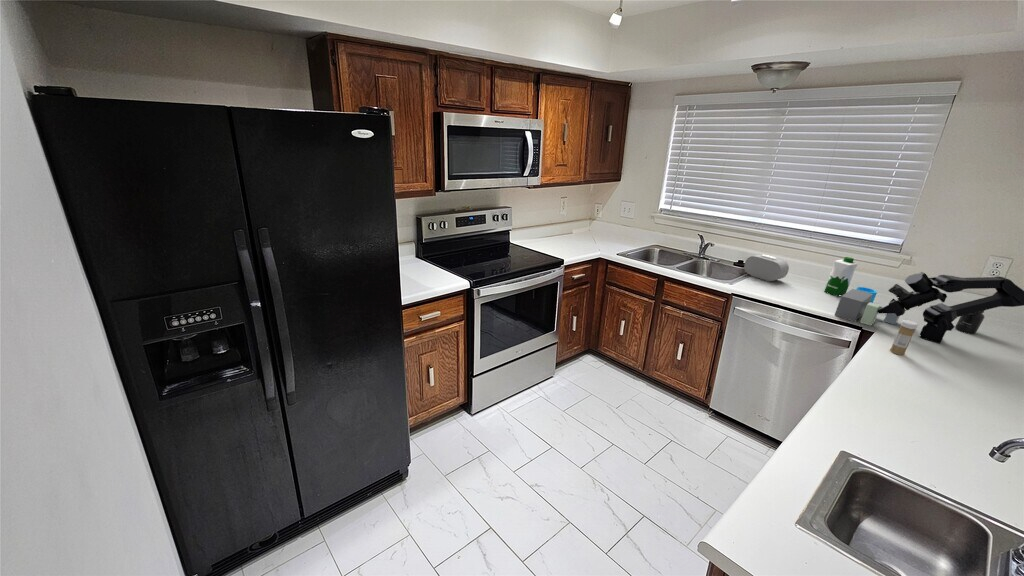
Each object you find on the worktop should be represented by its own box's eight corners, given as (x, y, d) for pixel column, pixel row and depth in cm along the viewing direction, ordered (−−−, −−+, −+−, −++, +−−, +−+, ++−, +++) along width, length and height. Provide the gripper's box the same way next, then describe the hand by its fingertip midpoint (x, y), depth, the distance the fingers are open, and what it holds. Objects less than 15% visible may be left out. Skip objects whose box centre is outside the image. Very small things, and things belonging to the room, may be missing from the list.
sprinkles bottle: (906, 353, 163) (919, 323, 158) (902, 356, 161) (916, 325, 156) (891, 348, 167) (904, 318, 162) (887, 351, 164) (900, 321, 159)
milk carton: (847, 295, 223) (861, 260, 216) (838, 297, 220) (851, 261, 212) (830, 289, 231) (842, 255, 223) (821, 291, 227) (833, 256, 220)
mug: (871, 309, 206) (877, 294, 203) (851, 304, 210) (857, 290, 208) (870, 302, 215) (875, 287, 212) (850, 298, 220) (856, 283, 217)
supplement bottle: (958, 331, 185) (970, 307, 181) (951, 326, 191) (963, 302, 187) (979, 335, 182) (991, 311, 178) (971, 330, 188) (984, 306, 184)
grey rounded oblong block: (785, 282, 239) (792, 260, 234) (776, 284, 234) (783, 262, 230) (750, 271, 255) (756, 250, 251) (742, 273, 251) (747, 252, 246)
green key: (873, 323, 189) (881, 305, 186) (870, 325, 186) (878, 307, 183) (837, 312, 199) (843, 295, 196) (834, 314, 196) (840, 297, 193)
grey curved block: (865, 312, 201) (873, 293, 197) (854, 321, 190) (862, 301, 187) (845, 307, 207) (852, 288, 203) (834, 315, 196) (841, 296, 192)
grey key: (897, 321, 192) (904, 304, 189) (894, 324, 189) (902, 306, 186) (855, 309, 203) (861, 293, 200) (852, 312, 201) (858, 295, 197)
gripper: (912, 276, 181) (871, 292, 193) (904, 285, 170) (861, 300, 182) (929, 299, 178) (886, 313, 190) (921, 308, 167) (877, 323, 179)
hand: (878, 312), depth 185 cm, fingers closed
